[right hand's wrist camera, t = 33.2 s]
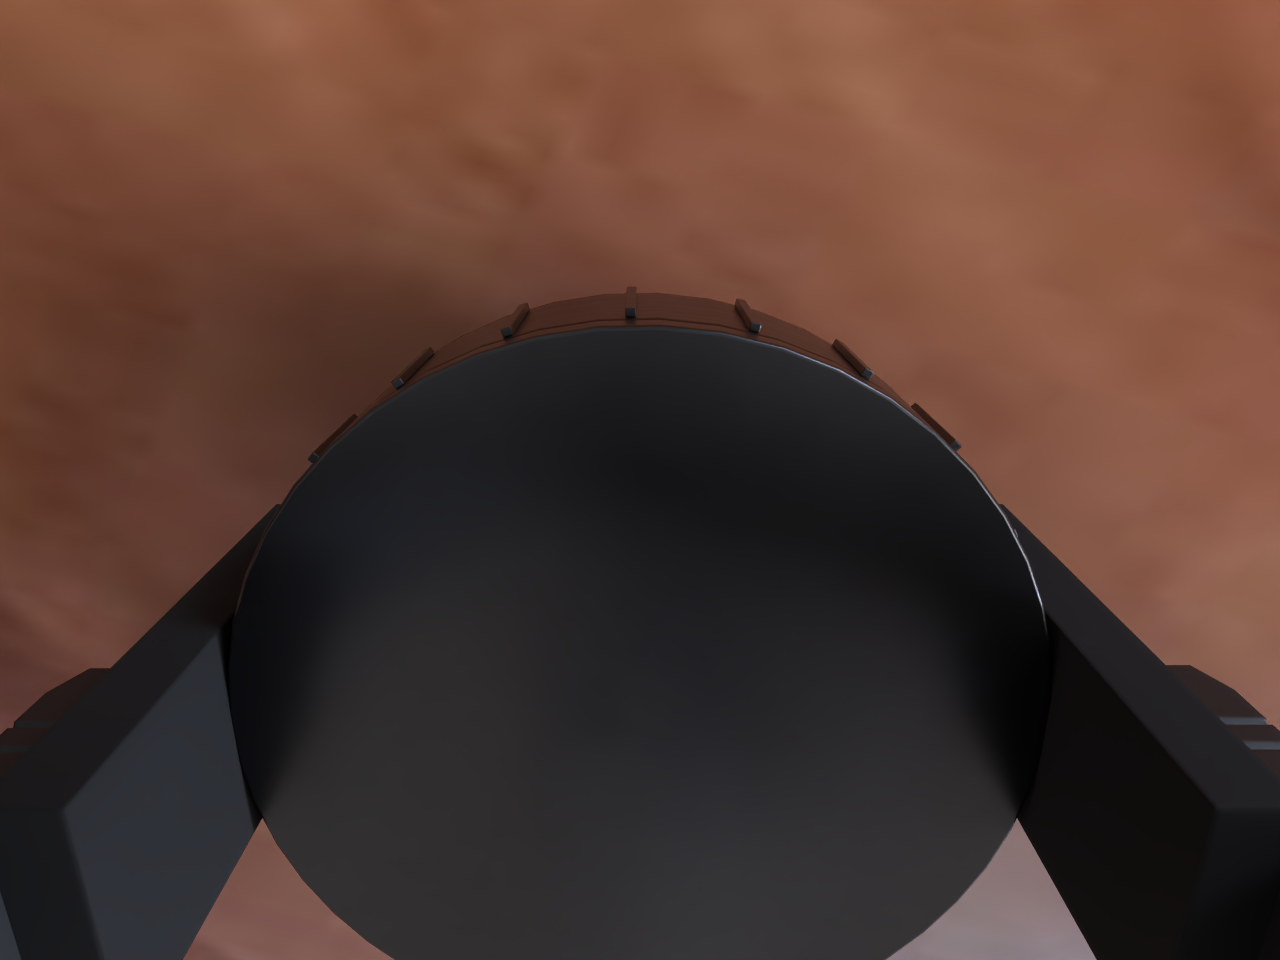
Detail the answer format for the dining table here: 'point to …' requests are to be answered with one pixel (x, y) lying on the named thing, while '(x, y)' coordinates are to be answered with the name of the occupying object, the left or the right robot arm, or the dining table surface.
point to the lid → (639, 649)
